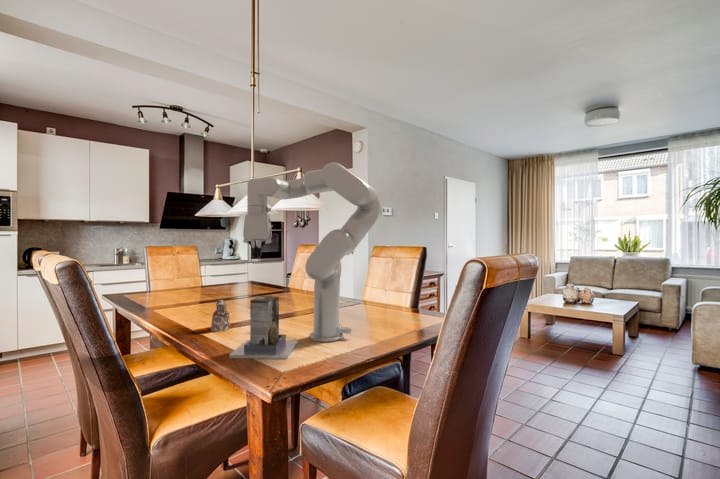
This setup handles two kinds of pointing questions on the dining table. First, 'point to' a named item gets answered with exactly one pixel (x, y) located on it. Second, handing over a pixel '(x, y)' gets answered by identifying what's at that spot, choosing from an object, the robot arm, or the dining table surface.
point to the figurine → (220, 318)
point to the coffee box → (264, 320)
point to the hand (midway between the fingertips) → (257, 257)
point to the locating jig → (266, 349)
